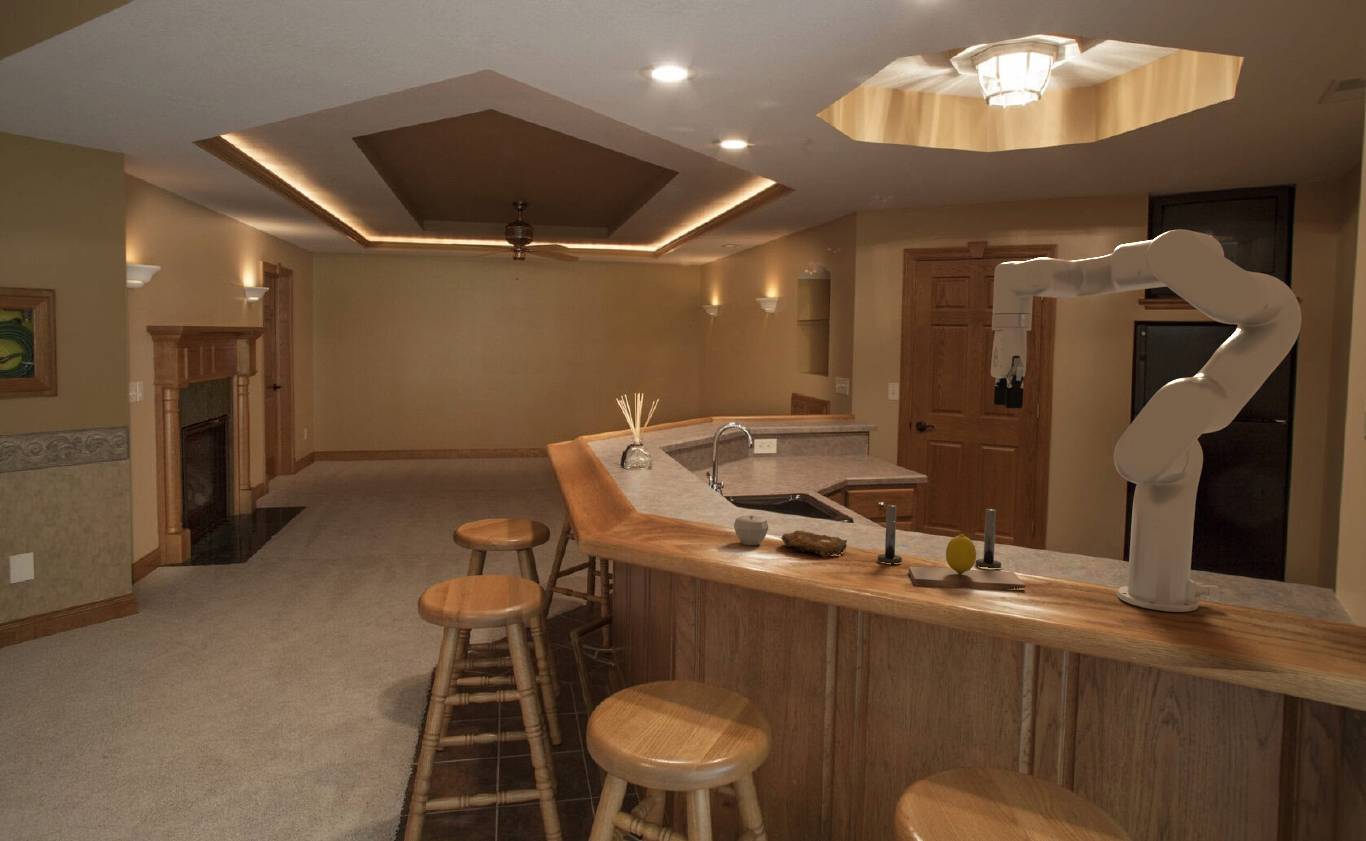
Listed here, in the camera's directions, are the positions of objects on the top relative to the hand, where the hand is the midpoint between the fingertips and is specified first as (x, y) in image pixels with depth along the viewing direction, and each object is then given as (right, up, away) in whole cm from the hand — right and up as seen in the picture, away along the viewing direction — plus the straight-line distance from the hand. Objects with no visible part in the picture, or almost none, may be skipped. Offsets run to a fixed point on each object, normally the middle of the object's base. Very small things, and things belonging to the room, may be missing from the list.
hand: (1007, 406), depth 167 cm
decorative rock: (-39, -32, +13) cm, 52 cm away
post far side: (-24, -33, +3) cm, 41 cm away
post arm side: (-4, -33, 0) cm, 34 cm away
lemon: (-13, -33, -10) cm, 37 cm away
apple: (-52, -31, +18) cm, 63 cm away
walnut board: (-13, -34, -10) cm, 38 cm away
